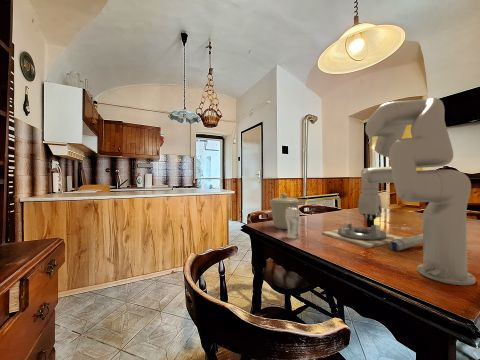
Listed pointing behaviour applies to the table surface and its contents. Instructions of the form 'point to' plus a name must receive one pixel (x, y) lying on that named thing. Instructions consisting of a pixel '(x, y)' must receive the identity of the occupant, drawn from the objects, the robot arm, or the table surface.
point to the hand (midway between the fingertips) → (370, 226)
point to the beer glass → (292, 222)
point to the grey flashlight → (406, 242)
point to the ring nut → (362, 232)
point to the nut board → (363, 243)
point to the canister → (282, 209)
